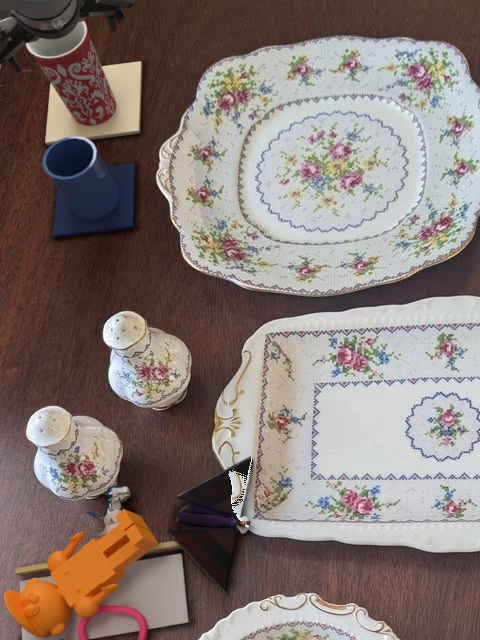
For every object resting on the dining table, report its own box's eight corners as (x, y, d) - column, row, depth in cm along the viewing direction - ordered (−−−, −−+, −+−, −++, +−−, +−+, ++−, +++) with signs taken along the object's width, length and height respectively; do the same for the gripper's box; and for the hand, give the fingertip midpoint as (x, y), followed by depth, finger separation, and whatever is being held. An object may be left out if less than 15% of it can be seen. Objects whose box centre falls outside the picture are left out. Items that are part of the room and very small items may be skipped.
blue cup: (69, 225, 119) (40, 182, 110) (72, 184, 122) (44, 139, 113) (120, 218, 118) (95, 175, 110) (122, 178, 121) (97, 132, 113)
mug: (123, 125, 124) (86, 51, 112) (66, 135, 125) (23, 61, 112) (122, 68, 129) (86, -10, 117) (67, 77, 129) (26, 0, 117)
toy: (176, 562, 95) (145, 551, 88) (57, 655, 95) (15, 652, 87) (138, 503, 98) (105, 488, 91) (22, 593, 98) (-21, 584, 90)
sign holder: (22, 570, 98) (25, 651, 96) (14, 568, 97) (18, 650, 94) (185, 542, 98) (193, 622, 96) (180, 539, 97) (188, 621, 94)
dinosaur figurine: (151, 548, 97) (138, 484, 102) (127, 536, 94) (115, 471, 99) (117, 568, 98) (106, 504, 103) (91, 557, 95) (81, 491, 100)
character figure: (185, 448, 101) (265, 455, 100) (190, 457, 103) (268, 464, 103) (152, 584, 94) (238, 592, 93) (159, 590, 96) (242, 599, 96)
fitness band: (78, 652, 94) (73, 653, 93) (85, 603, 95) (79, 603, 94) (145, 657, 94) (140, 658, 93) (151, 608, 95) (147, 608, 94)
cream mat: (46, 145, 125) (44, 142, 124) (53, 75, 130) (51, 72, 130) (140, 133, 124) (138, 130, 124) (142, 64, 130) (141, 61, 129)
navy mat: (54, 238, 118) (52, 235, 117) (59, 175, 122) (57, 172, 122) (133, 228, 118) (132, 225, 117) (135, 165, 122) (134, 163, 122)
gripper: (-48, 75, 85) (-10, 107, 105) (163, -15, 88) (161, 33, 108) (-91, 1, 83) (-44, 48, 102) (128, -89, 86) (133, -26, 105)
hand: (62, 40), depth 105 cm, fingers open, 13 cm apart
